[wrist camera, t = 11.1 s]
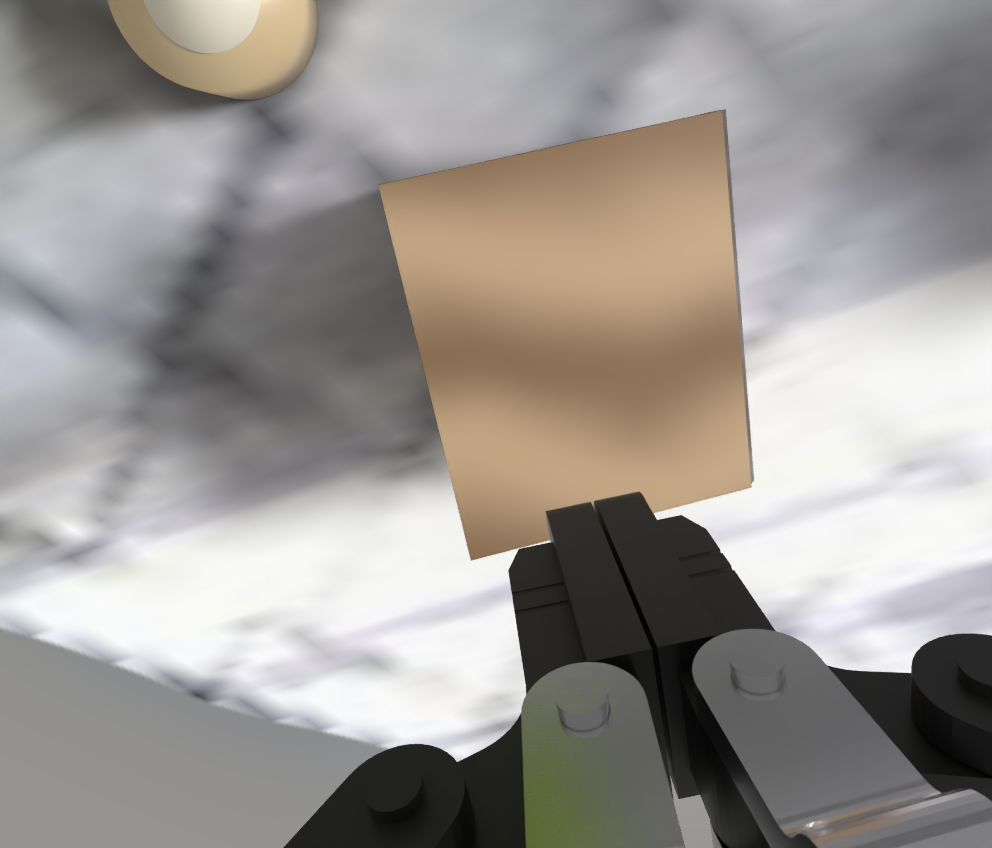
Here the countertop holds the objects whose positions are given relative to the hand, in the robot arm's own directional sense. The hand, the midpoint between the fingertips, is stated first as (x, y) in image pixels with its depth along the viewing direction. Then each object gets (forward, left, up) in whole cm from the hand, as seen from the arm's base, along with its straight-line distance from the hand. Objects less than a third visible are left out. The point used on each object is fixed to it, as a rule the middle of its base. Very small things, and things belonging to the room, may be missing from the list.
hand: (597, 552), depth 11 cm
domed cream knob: (-12, -7, -19) cm, 24 cm away
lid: (0, +2, -12) cm, 12 cm away
